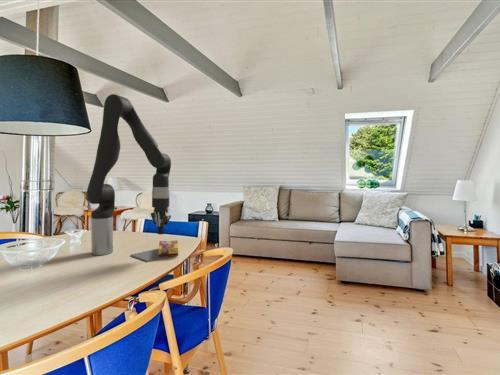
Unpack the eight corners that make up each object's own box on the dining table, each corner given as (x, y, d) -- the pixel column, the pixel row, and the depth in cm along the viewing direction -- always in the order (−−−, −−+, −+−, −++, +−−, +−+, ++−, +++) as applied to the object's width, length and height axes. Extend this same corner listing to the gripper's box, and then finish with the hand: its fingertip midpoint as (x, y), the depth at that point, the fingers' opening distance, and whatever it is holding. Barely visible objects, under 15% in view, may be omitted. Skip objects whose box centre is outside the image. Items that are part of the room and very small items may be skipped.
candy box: (178, 256, 132) (177, 247, 147) (178, 247, 132) (177, 239, 147) (158, 258, 130) (159, 248, 145) (158, 248, 130) (159, 240, 144)
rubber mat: (130, 255, 134) (130, 254, 134) (160, 249, 146) (160, 247, 146) (147, 262, 125) (147, 260, 125) (177, 254, 138) (177, 252, 137)
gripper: (145, 196, 132) (145, 233, 133) (162, 198, 124) (162, 237, 125) (159, 195, 138) (159, 230, 139) (176, 197, 130) (176, 235, 130)
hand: (160, 234), depth 132 cm, fingers closed
